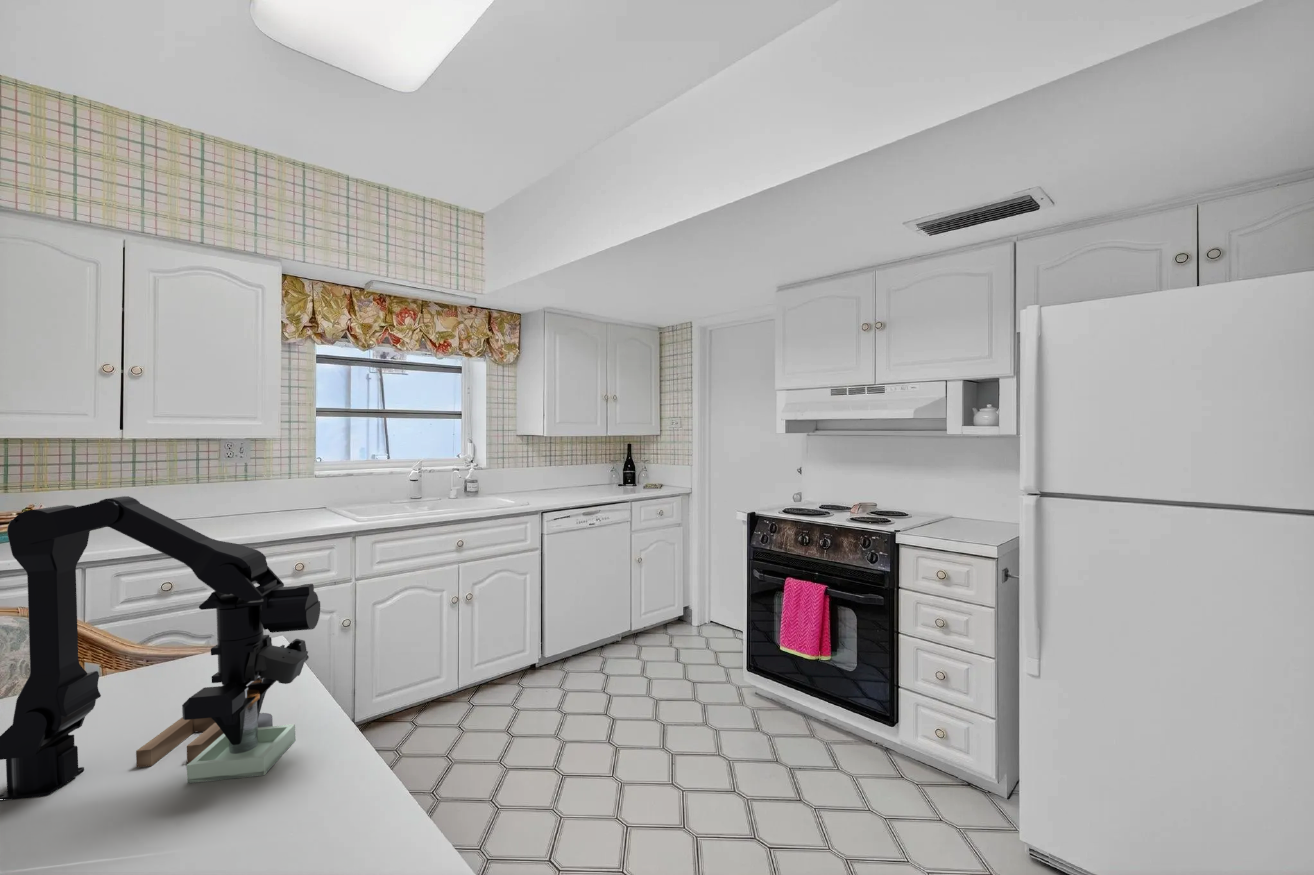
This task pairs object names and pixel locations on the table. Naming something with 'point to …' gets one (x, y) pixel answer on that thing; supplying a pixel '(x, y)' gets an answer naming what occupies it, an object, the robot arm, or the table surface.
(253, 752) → the tray
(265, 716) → the pulley
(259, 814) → the table surface
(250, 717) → the pin
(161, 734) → the brown u-shaped piece
